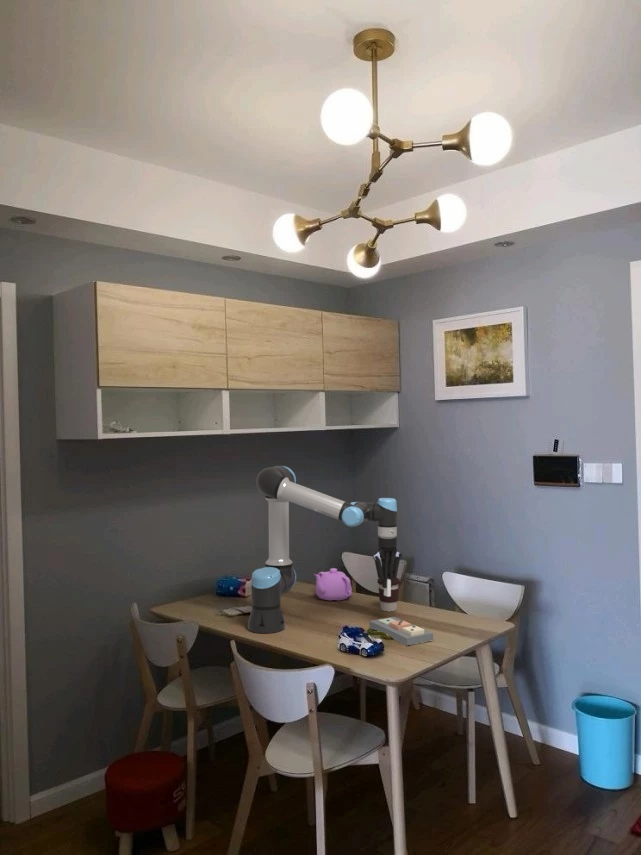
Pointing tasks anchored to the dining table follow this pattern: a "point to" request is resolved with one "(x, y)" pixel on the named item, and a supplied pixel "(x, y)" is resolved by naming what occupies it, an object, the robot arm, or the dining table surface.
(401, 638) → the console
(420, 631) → the tile two
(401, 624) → the tile three
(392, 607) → the coffee cup
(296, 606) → the dining table surface
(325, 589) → the teapot
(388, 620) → the tile one
